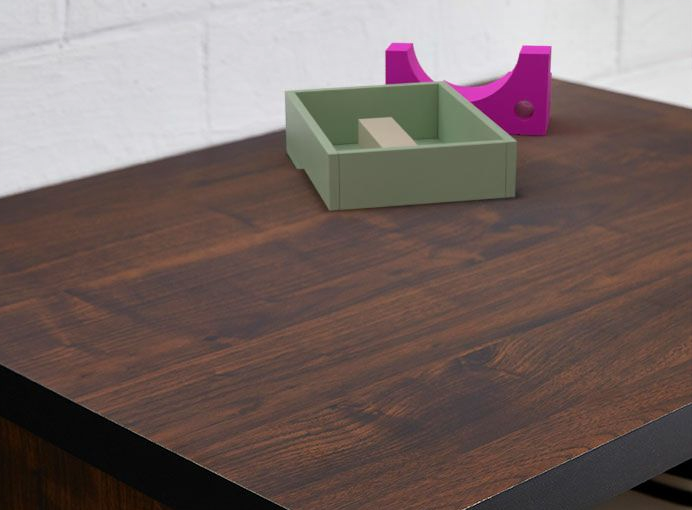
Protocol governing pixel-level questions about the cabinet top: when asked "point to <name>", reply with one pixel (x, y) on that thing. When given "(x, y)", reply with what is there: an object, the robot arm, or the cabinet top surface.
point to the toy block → (492, 87)
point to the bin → (398, 162)
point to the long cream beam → (382, 134)
